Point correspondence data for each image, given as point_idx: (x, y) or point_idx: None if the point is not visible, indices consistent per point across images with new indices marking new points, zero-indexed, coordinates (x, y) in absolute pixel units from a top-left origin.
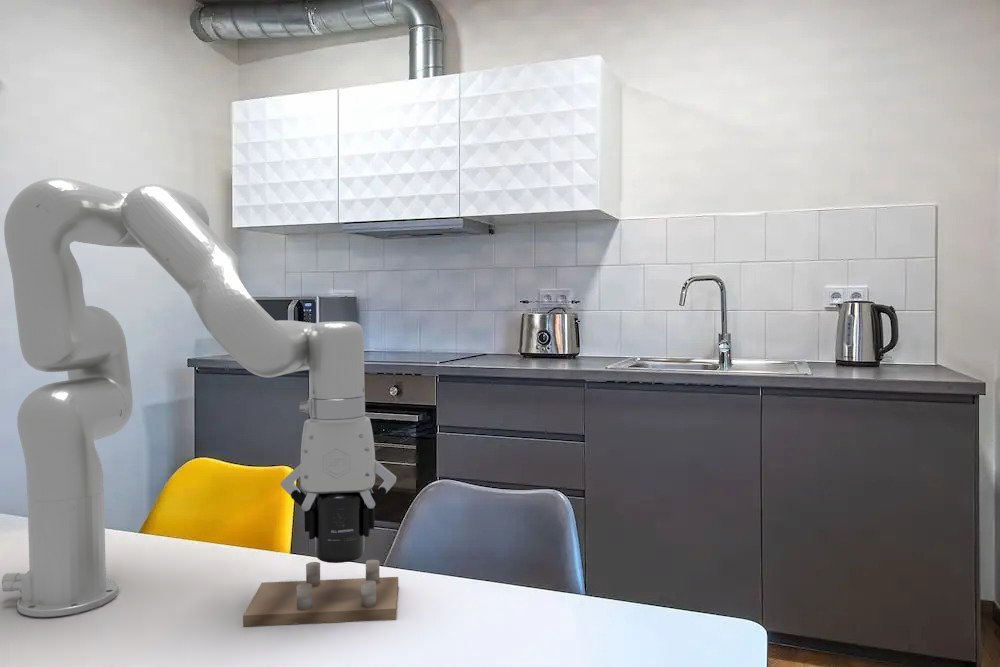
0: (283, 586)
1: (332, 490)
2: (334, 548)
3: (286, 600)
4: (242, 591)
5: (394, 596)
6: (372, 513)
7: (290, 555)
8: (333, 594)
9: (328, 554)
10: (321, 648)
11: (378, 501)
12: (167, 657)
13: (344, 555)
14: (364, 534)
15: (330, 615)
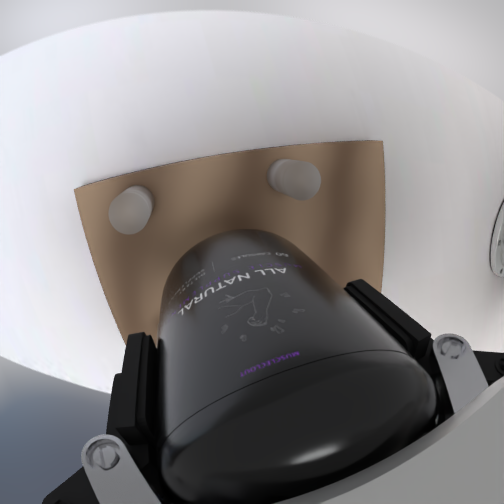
0: (346, 282)
1: (409, 468)
2: (249, 242)
3: (328, 213)
4: (395, 284)
5: (96, 256)
6: (112, 421)
7: None
8: None
9: (267, 234)
10: (203, 42)
11: (78, 471)
12: (419, 56)
13: (206, 243)
14: (145, 337)
15: (217, 155)
